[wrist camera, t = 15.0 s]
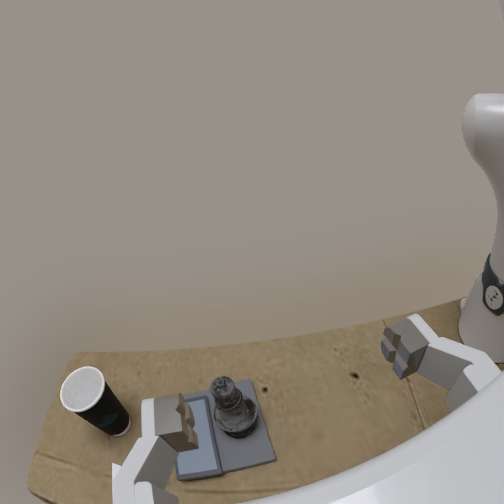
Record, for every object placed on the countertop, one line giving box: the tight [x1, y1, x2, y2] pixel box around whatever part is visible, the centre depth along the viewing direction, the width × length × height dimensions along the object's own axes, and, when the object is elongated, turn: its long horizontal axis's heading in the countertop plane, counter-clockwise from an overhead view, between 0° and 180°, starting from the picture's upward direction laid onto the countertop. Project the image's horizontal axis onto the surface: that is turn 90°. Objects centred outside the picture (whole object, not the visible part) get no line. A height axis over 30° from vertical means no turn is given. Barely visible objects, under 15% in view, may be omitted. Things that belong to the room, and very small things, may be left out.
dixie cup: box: [60, 367, 131, 436], centre depth 35 cm, size 8×8×11 cm
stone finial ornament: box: [210, 376, 259, 439], centre depth 33 cm, size 6×6×12 cm
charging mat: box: [182, 379, 276, 473], centre depth 36 cm, size 13×14×1 cm
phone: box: [175, 395, 223, 481], centre depth 34 cm, size 6×13×1 cm, turn 14°
